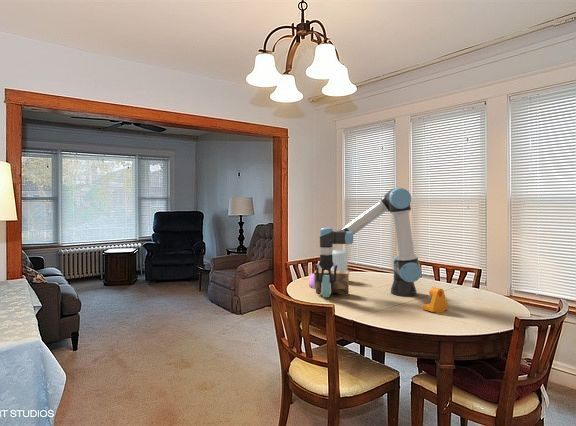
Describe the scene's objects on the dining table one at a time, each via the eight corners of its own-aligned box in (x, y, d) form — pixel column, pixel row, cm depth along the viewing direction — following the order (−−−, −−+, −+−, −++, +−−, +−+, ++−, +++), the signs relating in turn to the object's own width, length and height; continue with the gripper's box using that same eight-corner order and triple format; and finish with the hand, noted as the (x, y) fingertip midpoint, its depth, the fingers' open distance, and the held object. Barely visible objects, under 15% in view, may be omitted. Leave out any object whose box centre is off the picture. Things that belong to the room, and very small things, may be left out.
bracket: (436, 307, 199) (436, 284, 198) (447, 310, 192) (447, 287, 192) (421, 310, 194) (421, 287, 193) (432, 313, 187) (432, 290, 187)
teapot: (334, 289, 242) (334, 273, 242) (321, 291, 237) (321, 275, 236) (317, 284, 257) (317, 269, 257) (305, 286, 252) (305, 271, 251)
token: (327, 293, 229) (327, 291, 229) (326, 295, 225) (326, 292, 225) (320, 293, 230) (320, 290, 230) (319, 295, 226) (319, 292, 226)
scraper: (331, 292, 228) (331, 273, 228) (329, 297, 217) (329, 276, 217) (325, 292, 229) (324, 273, 229) (322, 296, 218) (322, 276, 218)
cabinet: (349, 293, 230) (349, 271, 229) (348, 296, 222) (348, 273, 221) (315, 291, 235) (315, 270, 234) (313, 295, 226) (313, 272, 226)
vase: (328, 280, 270) (328, 249, 269) (342, 279, 273) (342, 248, 272) (335, 283, 259) (335, 251, 258) (350, 282, 262) (350, 250, 262)
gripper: (341, 253, 221) (341, 292, 221) (312, 252, 225) (313, 291, 225) (340, 255, 214) (340, 295, 214) (310, 254, 217) (311, 294, 218)
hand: (326, 293), depth 220 cm, fingers closed on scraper, 4 cm apart
